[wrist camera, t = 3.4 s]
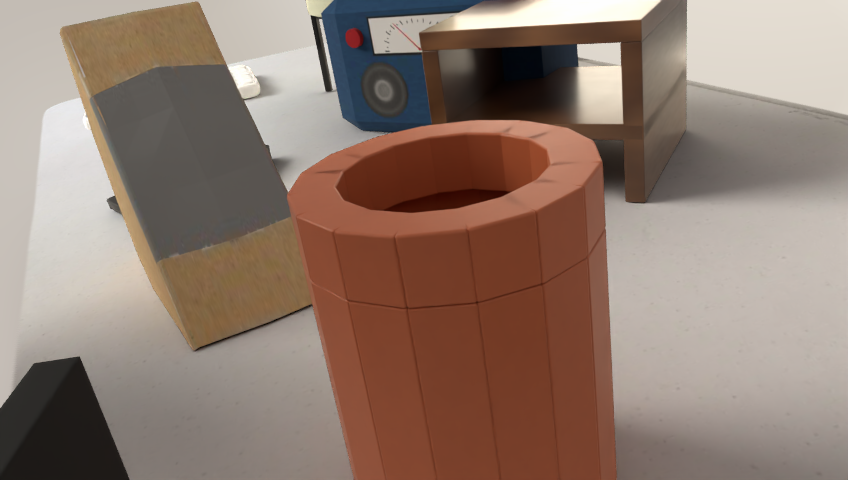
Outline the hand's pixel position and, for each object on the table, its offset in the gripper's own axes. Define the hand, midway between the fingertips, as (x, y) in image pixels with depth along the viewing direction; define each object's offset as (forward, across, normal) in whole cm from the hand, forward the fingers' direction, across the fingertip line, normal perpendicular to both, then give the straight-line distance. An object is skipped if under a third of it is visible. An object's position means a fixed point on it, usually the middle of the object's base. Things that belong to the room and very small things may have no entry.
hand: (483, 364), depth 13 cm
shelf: (+41, +10, -12) cm, 44 cm away
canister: (+10, 0, -12) cm, 15 cm away
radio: (+54, +3, -12) cm, 56 cm away
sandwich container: (+30, -13, -12) cm, 35 cm away
